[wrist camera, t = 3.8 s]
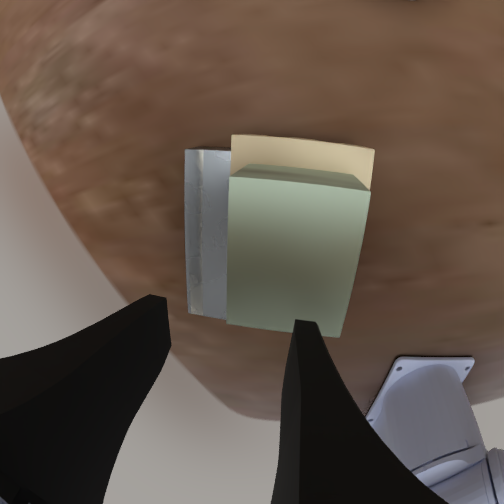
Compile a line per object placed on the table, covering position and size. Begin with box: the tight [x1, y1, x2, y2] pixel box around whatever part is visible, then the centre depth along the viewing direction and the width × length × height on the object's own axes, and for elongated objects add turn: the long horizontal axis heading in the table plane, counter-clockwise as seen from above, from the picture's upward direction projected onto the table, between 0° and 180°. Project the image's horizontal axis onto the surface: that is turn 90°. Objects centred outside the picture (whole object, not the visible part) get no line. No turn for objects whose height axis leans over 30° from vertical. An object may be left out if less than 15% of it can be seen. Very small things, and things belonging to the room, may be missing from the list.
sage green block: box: [226, 134, 375, 337], centre depth 12 cm, size 8×6×6 cm
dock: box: [185, 147, 231, 320], centre depth 17 cm, size 10×8×2 cm
